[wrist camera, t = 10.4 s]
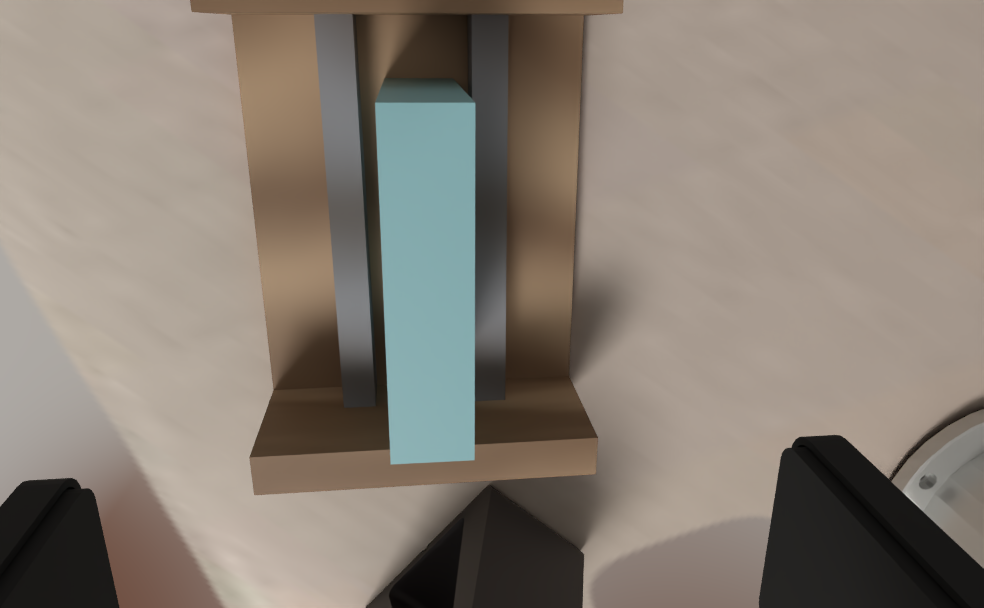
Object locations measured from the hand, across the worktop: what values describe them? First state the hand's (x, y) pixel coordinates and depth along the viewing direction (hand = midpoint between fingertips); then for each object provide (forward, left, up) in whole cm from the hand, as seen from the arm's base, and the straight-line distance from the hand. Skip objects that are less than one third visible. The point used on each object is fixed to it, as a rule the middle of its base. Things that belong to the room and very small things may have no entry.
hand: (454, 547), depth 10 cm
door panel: (0, 0, -19) cm, 19 cm away
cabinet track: (0, 0, -20) cm, 20 cm away
